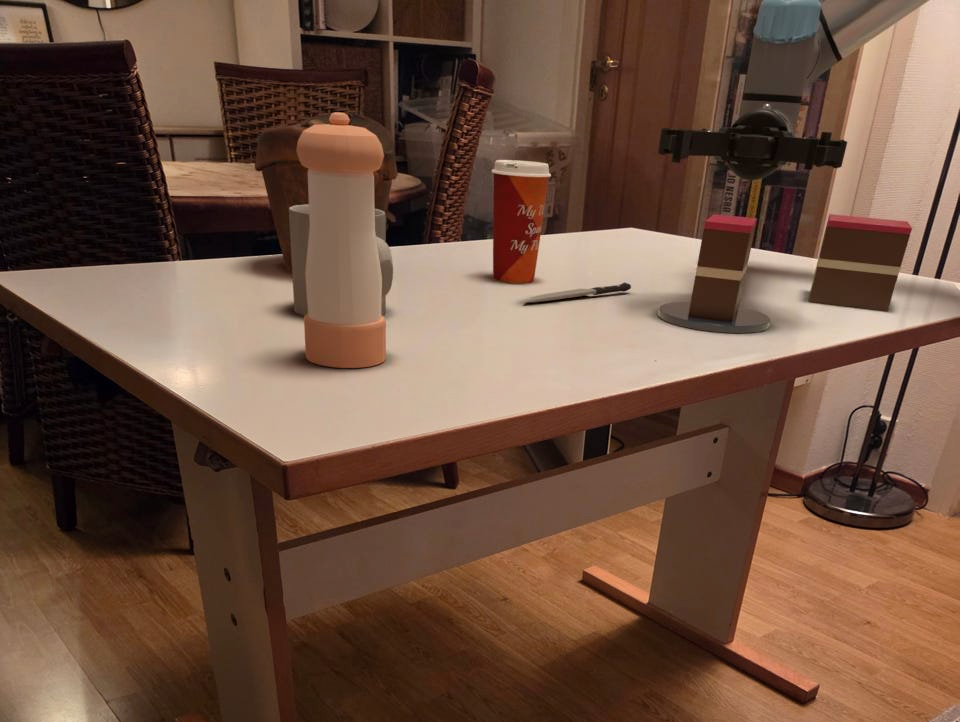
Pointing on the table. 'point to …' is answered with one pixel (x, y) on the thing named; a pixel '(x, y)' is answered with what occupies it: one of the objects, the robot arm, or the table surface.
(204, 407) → the table surface
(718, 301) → the cake slice
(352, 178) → the salt shaker
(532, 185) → the paper cup
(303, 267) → the coffee mug
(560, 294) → the chef's knife
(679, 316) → the cake plate
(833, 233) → the cake
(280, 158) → the flower pot
